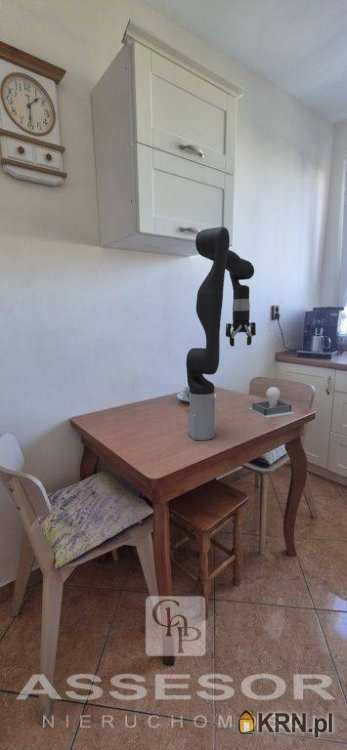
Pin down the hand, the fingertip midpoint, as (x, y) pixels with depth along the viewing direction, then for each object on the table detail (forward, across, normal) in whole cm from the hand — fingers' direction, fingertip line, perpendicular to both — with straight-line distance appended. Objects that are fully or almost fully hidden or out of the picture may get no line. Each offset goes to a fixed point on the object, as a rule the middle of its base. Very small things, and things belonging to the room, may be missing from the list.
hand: (240, 345), depth 146 cm
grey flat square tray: (+30, +11, -10) cm, 33 cm away
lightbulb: (+30, +11, -10) cm, 33 cm away
